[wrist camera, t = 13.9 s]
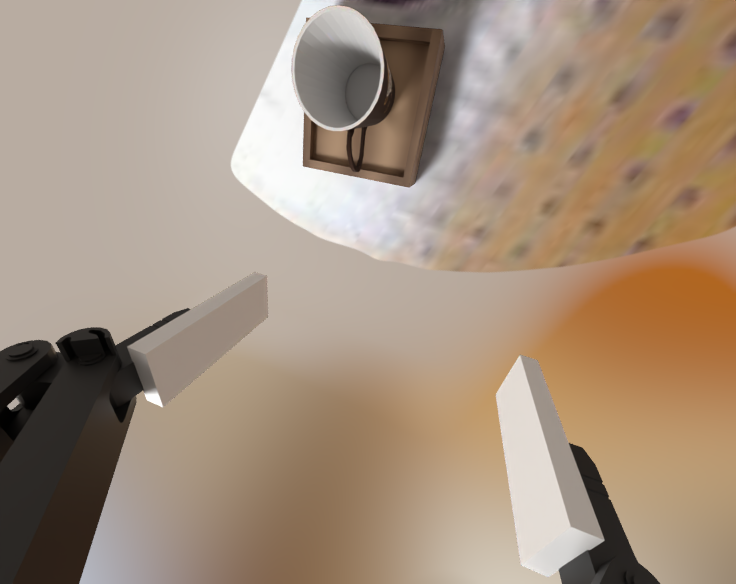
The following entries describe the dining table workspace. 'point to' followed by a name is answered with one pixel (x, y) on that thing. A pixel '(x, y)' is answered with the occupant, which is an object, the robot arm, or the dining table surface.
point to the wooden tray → (403, 123)
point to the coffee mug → (342, 74)
